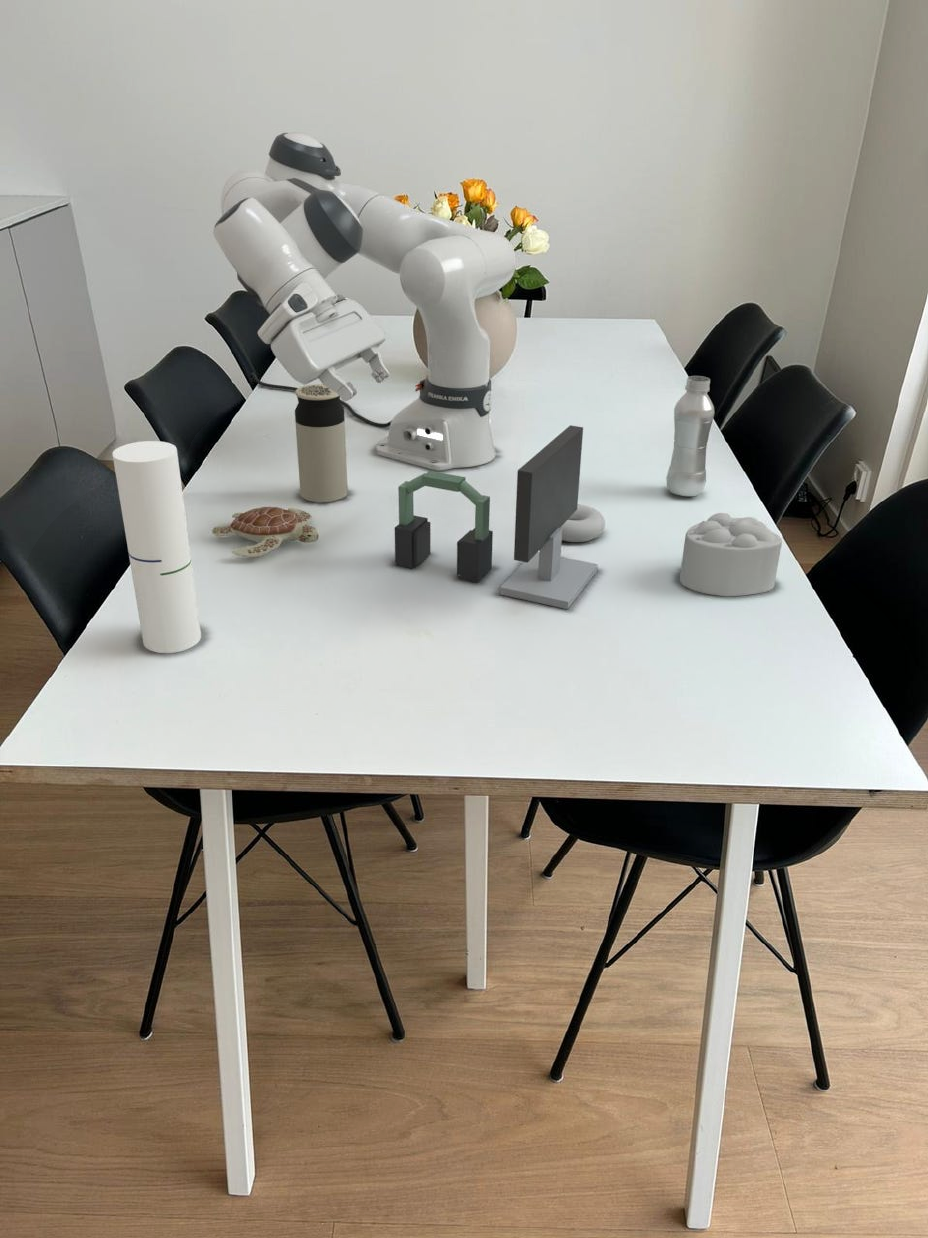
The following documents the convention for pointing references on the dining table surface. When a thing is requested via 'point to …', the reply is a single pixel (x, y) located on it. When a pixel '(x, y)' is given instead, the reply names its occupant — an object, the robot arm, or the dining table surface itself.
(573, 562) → the monitor
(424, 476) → the headphones
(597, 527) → the donut
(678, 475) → the plastic bottle
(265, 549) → the decorative turtle
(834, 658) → the dining table surface
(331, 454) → the travel mug
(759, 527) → the lumpy-topped squat cylinder
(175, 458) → the cylindrical container
